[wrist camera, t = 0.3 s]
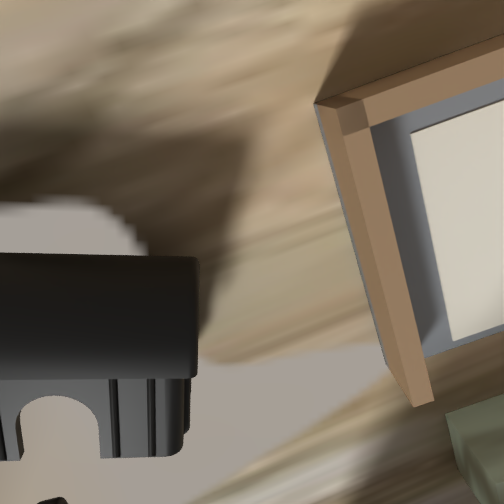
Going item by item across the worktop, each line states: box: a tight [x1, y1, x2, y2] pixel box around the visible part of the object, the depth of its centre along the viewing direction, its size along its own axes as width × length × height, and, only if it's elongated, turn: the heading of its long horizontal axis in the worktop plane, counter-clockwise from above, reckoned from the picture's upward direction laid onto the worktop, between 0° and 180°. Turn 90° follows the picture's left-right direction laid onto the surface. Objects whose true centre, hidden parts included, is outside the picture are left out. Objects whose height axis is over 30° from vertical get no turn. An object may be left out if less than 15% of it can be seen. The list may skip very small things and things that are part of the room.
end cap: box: [0, 253, 200, 461], centre depth 19 cm, size 10×7×7 cm
